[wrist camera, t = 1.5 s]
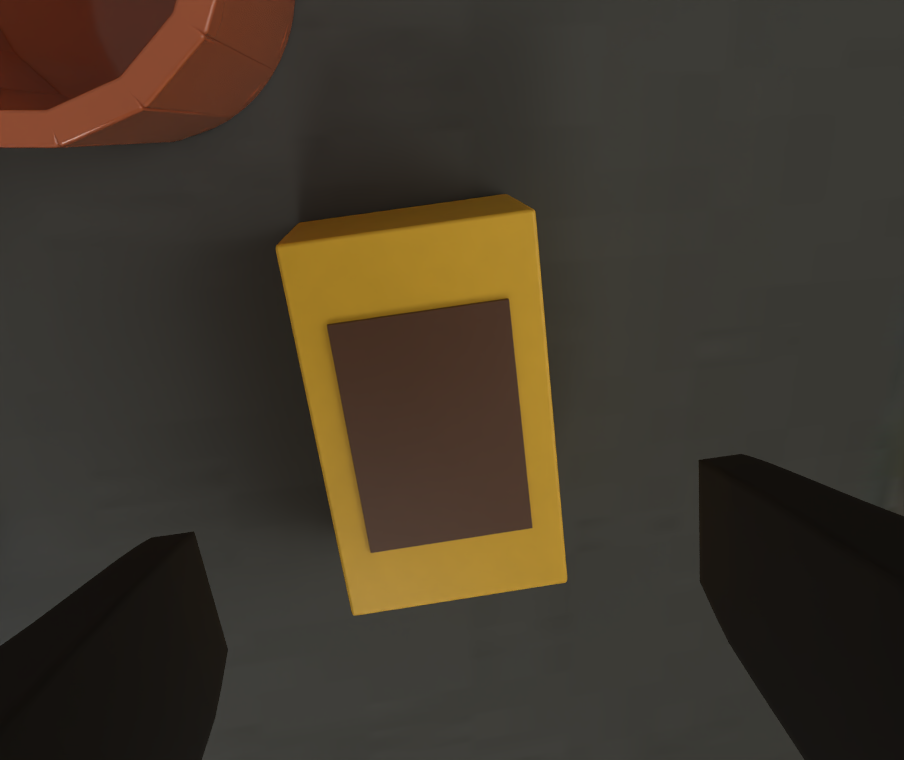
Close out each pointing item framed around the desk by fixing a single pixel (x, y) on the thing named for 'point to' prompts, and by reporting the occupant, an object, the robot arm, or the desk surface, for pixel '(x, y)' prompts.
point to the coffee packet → (430, 398)
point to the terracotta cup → (132, 67)
